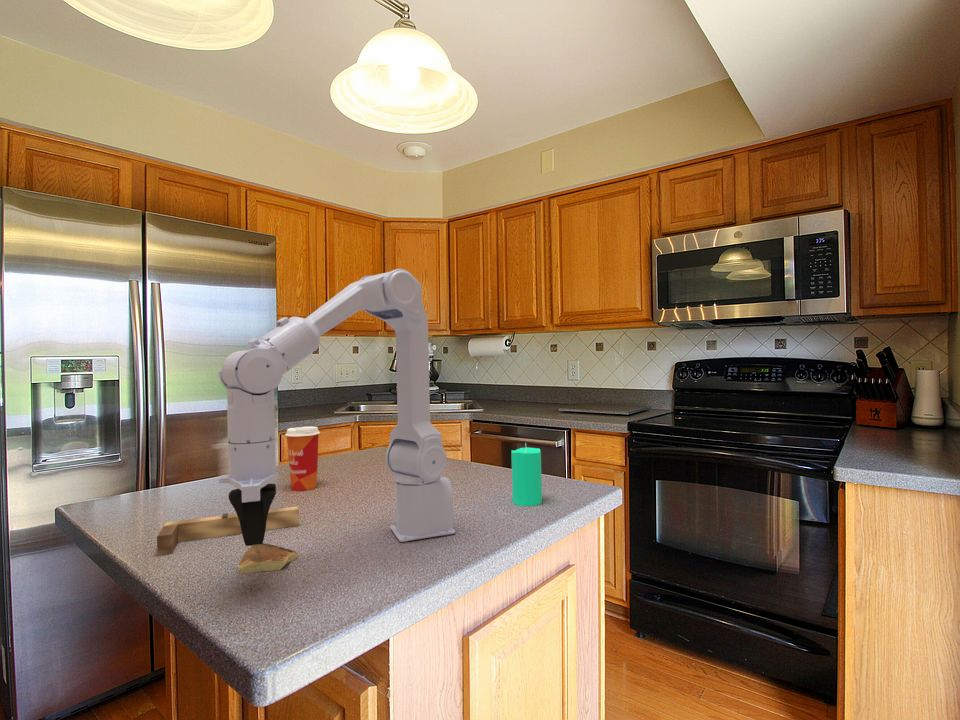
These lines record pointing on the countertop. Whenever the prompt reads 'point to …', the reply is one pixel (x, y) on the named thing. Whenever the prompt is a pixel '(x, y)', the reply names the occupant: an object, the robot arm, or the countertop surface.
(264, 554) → the shard
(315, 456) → the paper cup
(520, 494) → the candle
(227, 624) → the countertop surface
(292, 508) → the oak ledge
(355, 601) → the countertop surface
